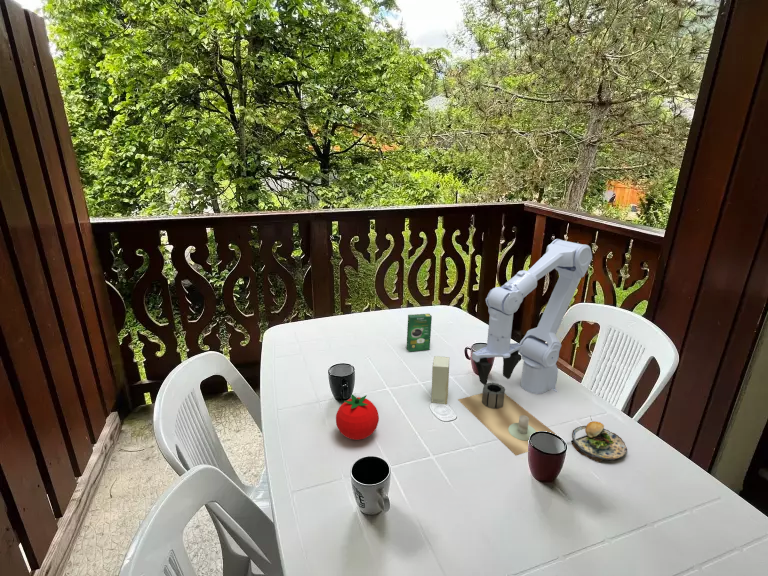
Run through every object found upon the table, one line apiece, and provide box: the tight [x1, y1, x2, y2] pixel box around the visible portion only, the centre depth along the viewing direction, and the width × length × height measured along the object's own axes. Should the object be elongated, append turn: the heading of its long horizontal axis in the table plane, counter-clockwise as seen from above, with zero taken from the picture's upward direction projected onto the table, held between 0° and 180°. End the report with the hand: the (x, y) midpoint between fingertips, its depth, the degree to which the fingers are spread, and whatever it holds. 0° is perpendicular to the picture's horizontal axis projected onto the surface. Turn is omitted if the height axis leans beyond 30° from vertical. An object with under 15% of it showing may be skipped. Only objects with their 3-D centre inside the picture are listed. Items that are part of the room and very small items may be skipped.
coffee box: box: [406, 313, 433, 353], centre depth 143 cm, size 8×3×13 cm, turn 103°
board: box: [457, 392, 558, 457], centre depth 106 cm, size 14×24×5 cm, turn 23°
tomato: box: [335, 393, 380, 441], centre depth 100 cm, size 10×10×10 cm
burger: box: [570, 415, 628, 464], centre depth 97 cm, size 12×12×8 cm
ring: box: [482, 382, 506, 409], centre depth 112 cm, size 6×6×4 cm
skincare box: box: [431, 355, 450, 405], centre depth 114 cm, size 6×4×12 cm
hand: (494, 379), depth 110 cm, fingers open, 7 cm apart
